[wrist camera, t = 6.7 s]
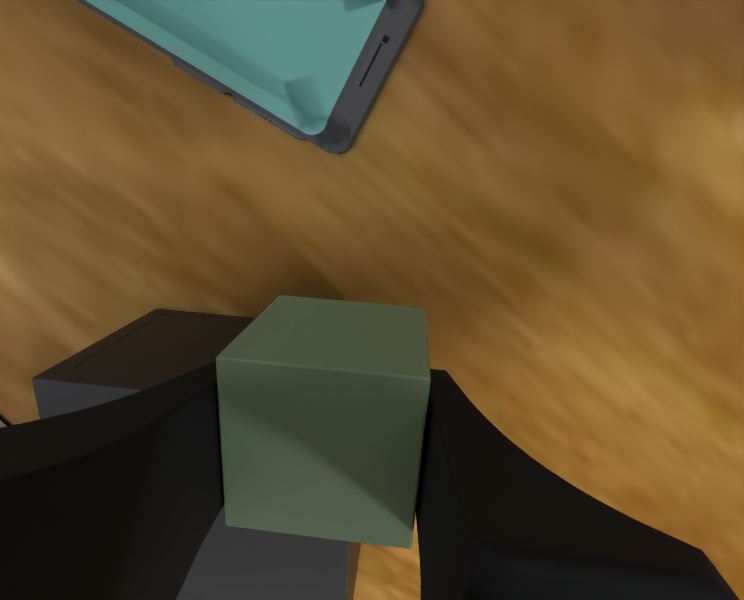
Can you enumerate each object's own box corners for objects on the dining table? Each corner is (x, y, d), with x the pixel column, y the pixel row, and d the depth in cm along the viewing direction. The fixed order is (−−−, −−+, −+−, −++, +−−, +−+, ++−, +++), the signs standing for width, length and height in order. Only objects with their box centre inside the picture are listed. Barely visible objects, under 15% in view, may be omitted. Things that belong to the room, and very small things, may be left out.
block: (412, 434, 13) (411, 550, 9) (280, 420, 13) (224, 526, 9) (425, 307, 11) (431, 377, 8) (278, 294, 12) (214, 356, 8)
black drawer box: (361, 540, 26) (340, 687, 18) (175, 515, 27) (85, 647, 19) (376, 329, 21) (357, 414, 14) (155, 308, 22) (31, 378, 15)
